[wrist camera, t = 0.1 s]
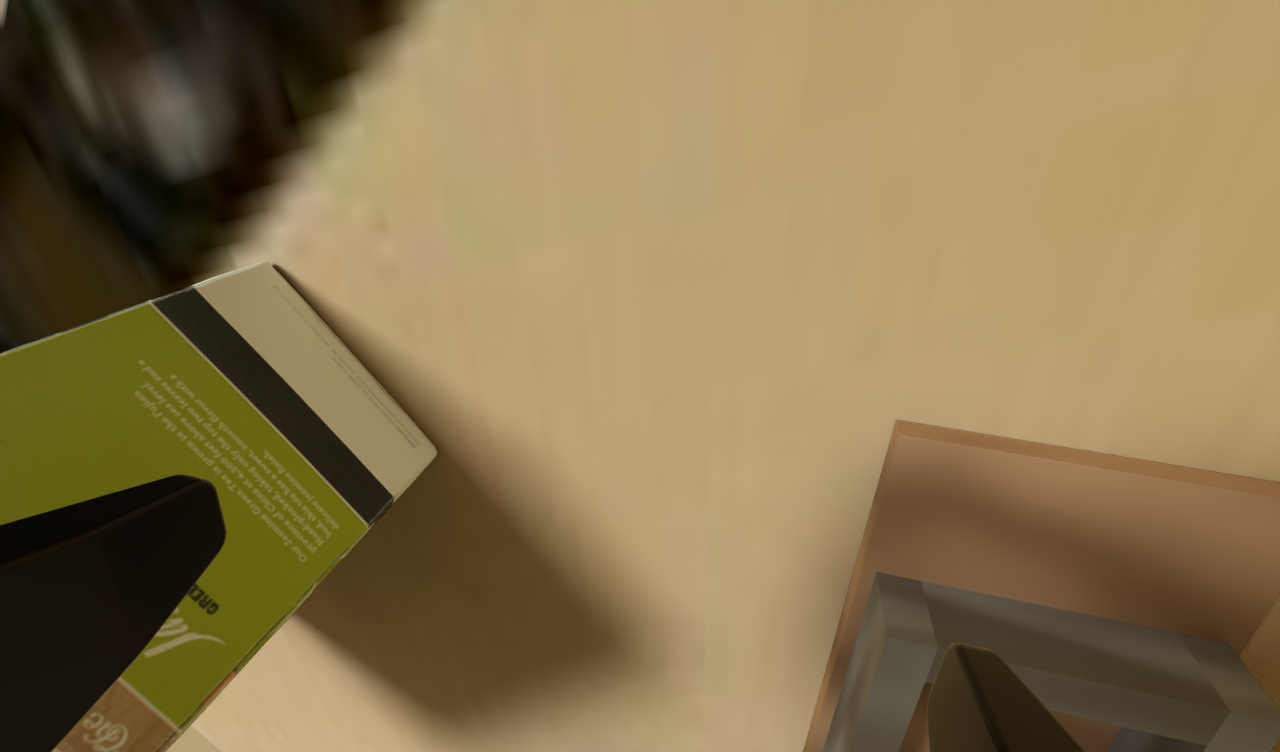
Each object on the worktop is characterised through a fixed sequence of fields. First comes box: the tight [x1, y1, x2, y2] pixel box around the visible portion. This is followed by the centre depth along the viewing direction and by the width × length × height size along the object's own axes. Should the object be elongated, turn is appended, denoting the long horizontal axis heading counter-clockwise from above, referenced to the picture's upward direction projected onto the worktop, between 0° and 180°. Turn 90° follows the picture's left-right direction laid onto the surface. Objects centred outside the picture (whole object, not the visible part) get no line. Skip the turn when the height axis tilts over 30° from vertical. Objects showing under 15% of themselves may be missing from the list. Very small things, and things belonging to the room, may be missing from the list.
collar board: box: [803, 420, 1280, 752], centre depth 23 cm, size 22×12×4 cm, turn 175°
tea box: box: [0, 261, 437, 752], centre depth 22 cm, size 15×10×15 cm, turn 128°
